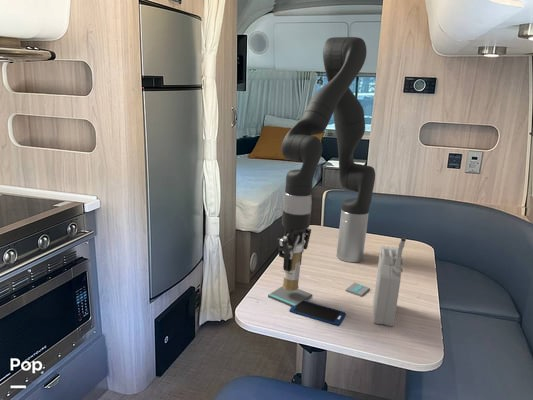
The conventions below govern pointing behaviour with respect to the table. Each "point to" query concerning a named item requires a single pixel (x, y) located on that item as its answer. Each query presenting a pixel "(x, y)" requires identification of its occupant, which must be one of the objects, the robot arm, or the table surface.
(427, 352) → the table surface
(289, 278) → the sprinkles bottle
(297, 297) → the mat
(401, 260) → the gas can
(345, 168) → the robot arm
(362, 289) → the label tag
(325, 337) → the table surface
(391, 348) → the table surface
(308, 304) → the cell phone
